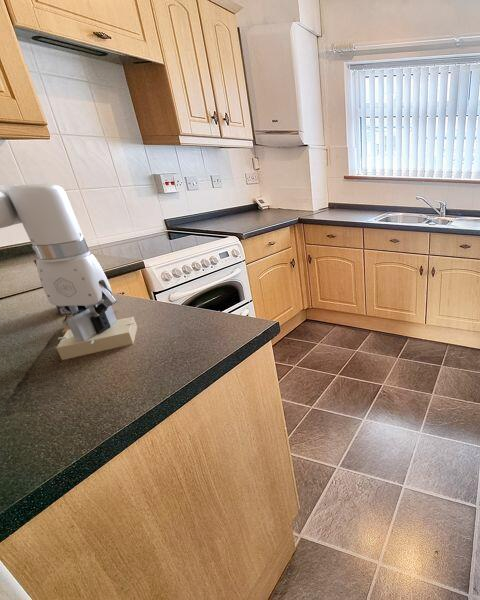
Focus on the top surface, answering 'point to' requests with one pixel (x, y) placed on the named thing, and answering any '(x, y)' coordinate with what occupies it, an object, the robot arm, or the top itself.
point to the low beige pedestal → (99, 339)
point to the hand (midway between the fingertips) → (97, 330)
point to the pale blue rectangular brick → (87, 324)
